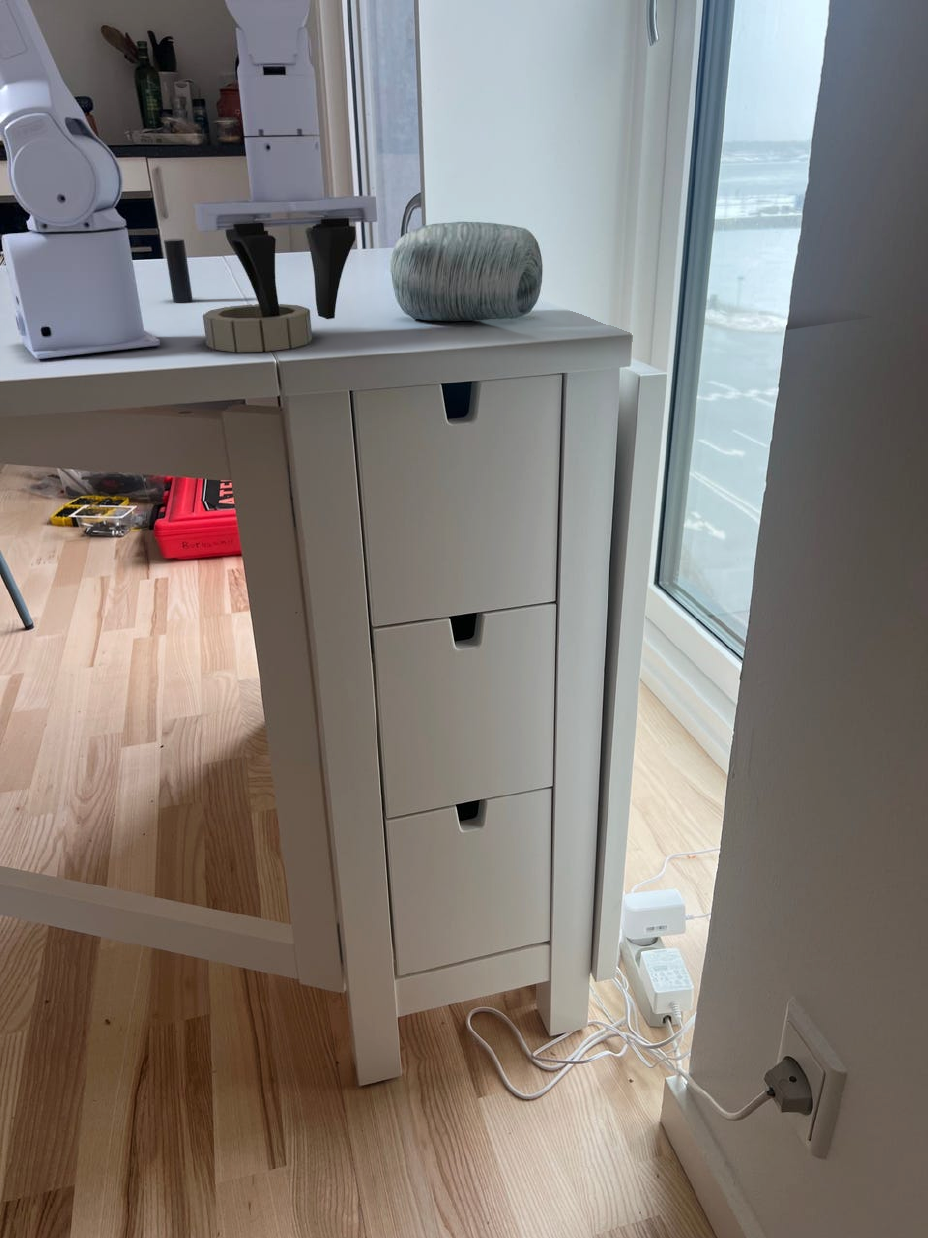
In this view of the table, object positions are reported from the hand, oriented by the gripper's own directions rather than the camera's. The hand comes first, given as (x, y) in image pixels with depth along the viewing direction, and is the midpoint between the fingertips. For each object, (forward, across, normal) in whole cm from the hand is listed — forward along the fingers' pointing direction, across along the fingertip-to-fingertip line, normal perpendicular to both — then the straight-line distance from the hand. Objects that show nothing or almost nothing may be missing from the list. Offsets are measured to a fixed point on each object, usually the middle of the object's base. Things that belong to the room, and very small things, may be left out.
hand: (299, 320), depth 77 cm
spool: (+2, +16, -1) cm, 16 cm away
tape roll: (+1, -4, 0) cm, 4 cm away
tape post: (+1, -3, +27) cm, 27 cm away
